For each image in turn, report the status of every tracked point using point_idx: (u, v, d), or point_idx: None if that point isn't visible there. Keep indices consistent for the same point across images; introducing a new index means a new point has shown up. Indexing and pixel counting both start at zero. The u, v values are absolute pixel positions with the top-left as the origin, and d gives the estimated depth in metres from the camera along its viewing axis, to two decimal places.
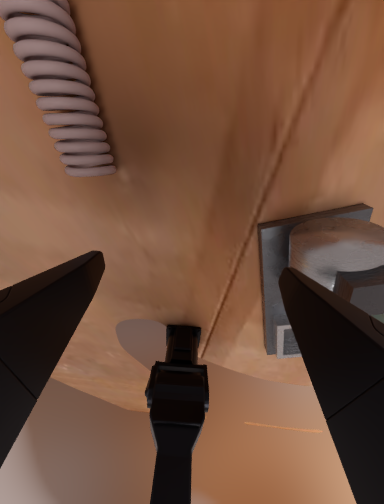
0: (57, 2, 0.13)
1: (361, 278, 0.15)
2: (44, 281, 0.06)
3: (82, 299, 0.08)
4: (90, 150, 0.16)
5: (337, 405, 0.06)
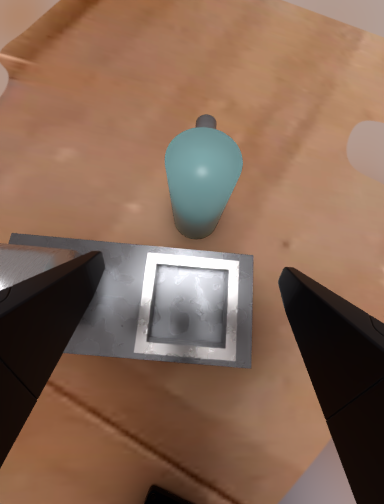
0: None
1: None
2: (44, 281, 0.06)
3: (82, 299, 0.08)
4: None
5: (337, 405, 0.06)
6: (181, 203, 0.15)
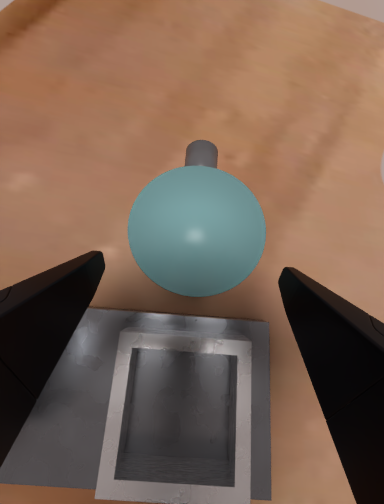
0: None
1: None
2: (44, 281, 0.06)
3: (82, 299, 0.08)
4: None
5: (337, 405, 0.06)
6: None
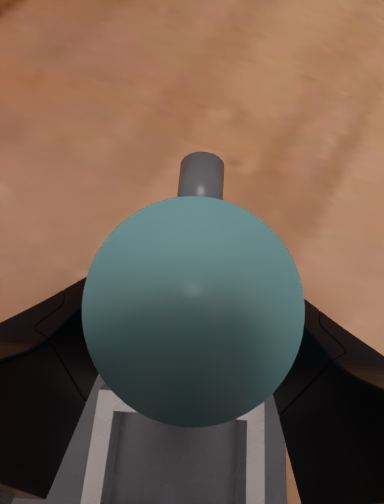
0: None
1: None
2: None
3: None
4: None
5: (287, 402, 0.06)
6: None
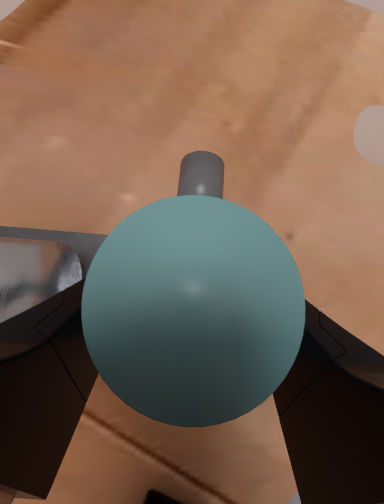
0: None
1: None
2: None
3: None
4: None
5: (287, 402, 0.06)
6: None
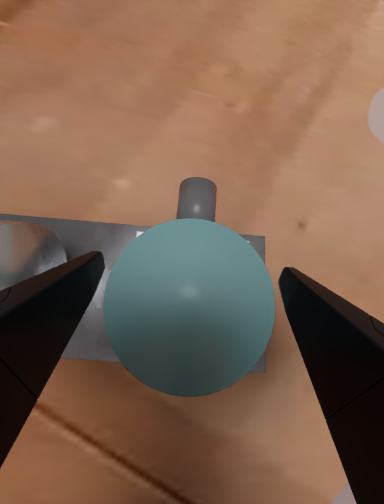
0: None
1: None
2: (44, 281, 0.06)
3: (82, 299, 0.08)
4: None
5: (337, 405, 0.06)
6: None
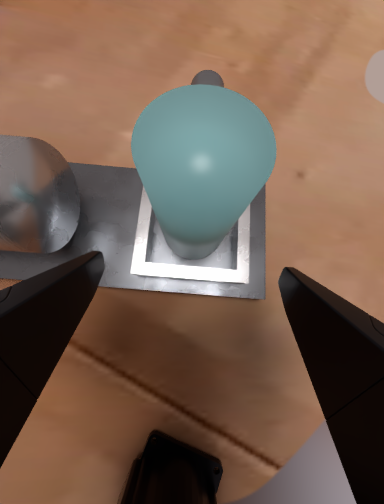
0: None
1: None
2: (44, 281, 0.06)
3: (82, 299, 0.08)
4: None
5: (337, 406, 0.06)
6: (166, 219, 0.09)
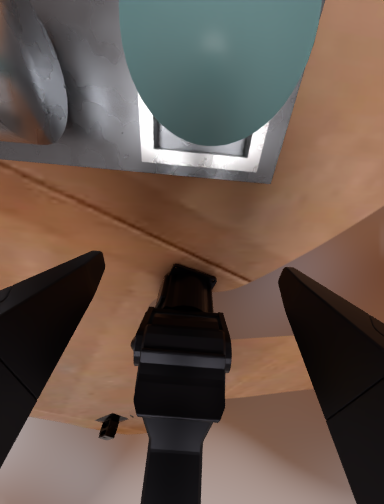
0: None
1: None
2: (44, 281, 0.06)
3: (82, 299, 0.08)
4: None
5: (337, 405, 0.06)
6: None
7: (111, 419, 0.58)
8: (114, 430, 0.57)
